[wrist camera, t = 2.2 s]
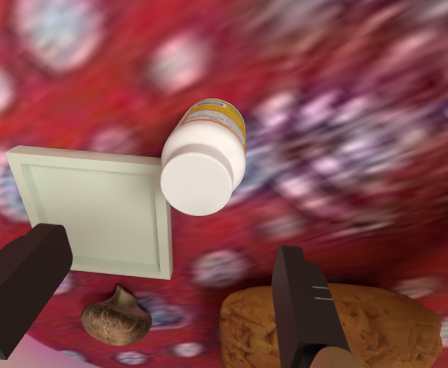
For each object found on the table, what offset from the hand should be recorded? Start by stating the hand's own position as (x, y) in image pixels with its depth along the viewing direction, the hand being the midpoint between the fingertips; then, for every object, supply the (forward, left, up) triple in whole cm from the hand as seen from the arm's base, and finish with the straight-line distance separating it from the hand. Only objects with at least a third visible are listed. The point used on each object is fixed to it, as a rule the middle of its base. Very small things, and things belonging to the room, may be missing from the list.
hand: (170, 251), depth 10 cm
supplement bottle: (0, 0, -15) cm, 15 cm away
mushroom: (+10, +24, -15) cm, 30 cm away
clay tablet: (-13, +22, -15) cm, 30 cm away
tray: (+11, +10, -15) cm, 21 cm away
